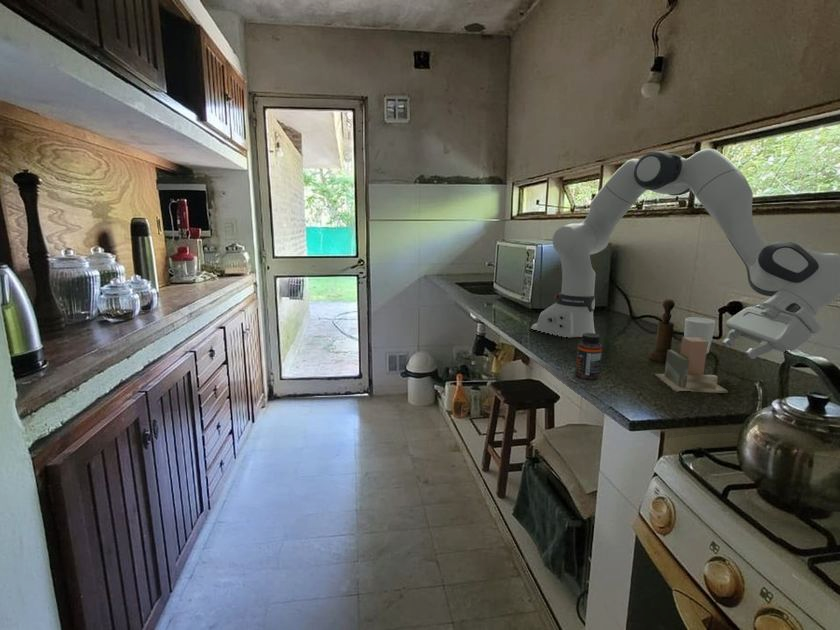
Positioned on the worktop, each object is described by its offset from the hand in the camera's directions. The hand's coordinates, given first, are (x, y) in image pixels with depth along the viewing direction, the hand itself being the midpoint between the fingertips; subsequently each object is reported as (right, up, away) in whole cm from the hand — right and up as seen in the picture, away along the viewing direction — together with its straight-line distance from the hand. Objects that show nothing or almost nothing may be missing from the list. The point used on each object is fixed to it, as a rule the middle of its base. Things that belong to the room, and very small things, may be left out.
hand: (735, 350), depth 107 cm
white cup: (+10, -3, +31) cm, 32 cm away
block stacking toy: (-10, -9, +3) cm, 13 cm away
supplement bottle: (-33, -8, +8) cm, 35 cm away
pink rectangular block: (-10, -8, +3) cm, 13 cm away
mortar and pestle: (-6, -5, +22) cm, 24 cm away
